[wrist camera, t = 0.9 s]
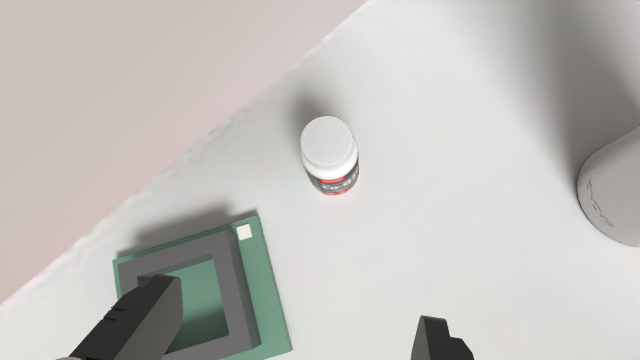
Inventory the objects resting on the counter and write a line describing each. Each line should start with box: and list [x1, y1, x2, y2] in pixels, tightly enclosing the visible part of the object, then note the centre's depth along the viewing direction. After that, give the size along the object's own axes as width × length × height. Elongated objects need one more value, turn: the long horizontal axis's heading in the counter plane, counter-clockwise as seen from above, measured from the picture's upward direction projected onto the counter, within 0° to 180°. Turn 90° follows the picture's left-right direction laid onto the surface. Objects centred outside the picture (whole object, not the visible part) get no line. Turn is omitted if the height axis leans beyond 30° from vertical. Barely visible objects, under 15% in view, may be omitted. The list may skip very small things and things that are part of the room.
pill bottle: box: [300, 116, 359, 196], centre depth 34 cm, size 5×5×8 cm
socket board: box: [111, 215, 293, 360], centre depth 34 cm, size 14×12×4 cm
